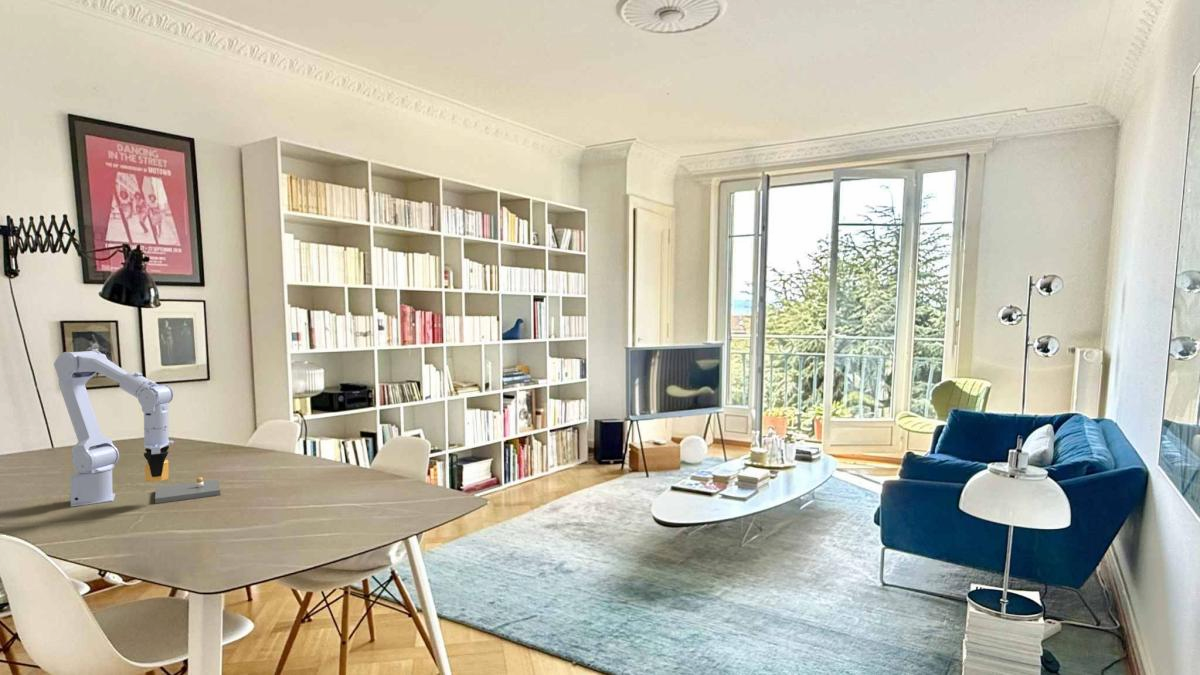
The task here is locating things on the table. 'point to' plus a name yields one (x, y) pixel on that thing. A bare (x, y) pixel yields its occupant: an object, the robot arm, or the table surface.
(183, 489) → the plate
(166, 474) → the orange acorn nut
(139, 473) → the table surface
